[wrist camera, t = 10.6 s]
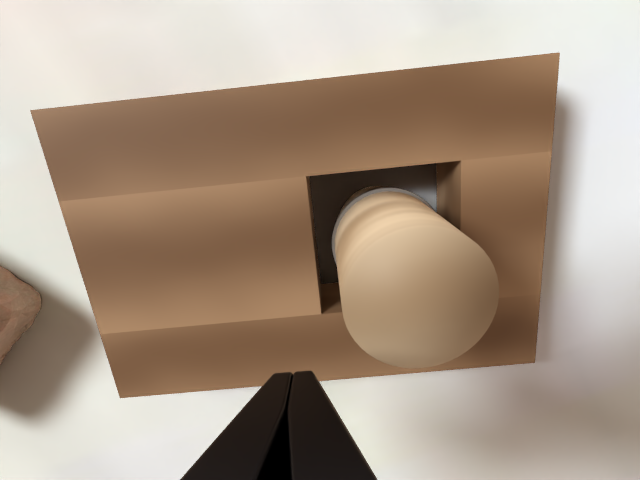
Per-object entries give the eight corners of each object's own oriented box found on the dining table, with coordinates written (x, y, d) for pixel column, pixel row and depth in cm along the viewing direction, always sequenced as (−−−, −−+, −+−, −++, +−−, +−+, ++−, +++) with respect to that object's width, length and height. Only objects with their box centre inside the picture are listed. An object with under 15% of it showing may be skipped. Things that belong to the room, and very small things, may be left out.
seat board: (501, 326, 19) (534, 362, 16) (149, 357, 19) (120, 398, 16) (514, 66, 15) (559, 52, 12) (82, 113, 16) (30, 110, 13)
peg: (422, 261, 18) (499, 364, 10) (334, 269, 18) (344, 378, 10) (420, 172, 16) (506, 213, 9) (325, 182, 17) (330, 230, 9)
